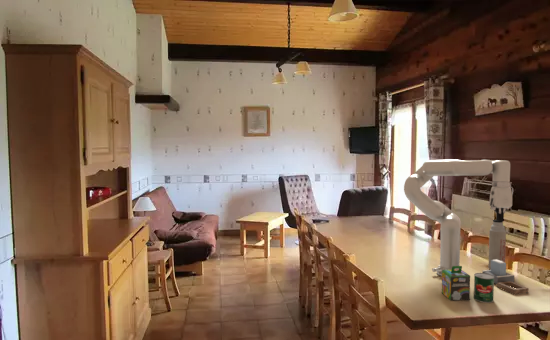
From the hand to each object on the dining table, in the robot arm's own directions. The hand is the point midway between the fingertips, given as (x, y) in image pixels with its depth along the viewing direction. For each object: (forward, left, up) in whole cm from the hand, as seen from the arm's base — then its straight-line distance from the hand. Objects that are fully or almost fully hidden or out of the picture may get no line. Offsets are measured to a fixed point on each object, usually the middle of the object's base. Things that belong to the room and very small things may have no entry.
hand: (499, 220), depth 200 cm
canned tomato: (-25, -18, -31) cm, 44 cm away
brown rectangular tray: (-3, -12, -31) cm, 33 cm away
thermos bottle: (+13, +15, -31) cm, 37 cm away
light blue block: (0, 0, -31) cm, 31 cm away
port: (0, 0, -31) cm, 31 cm away
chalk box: (-35, -12, -31) cm, 49 cm away
